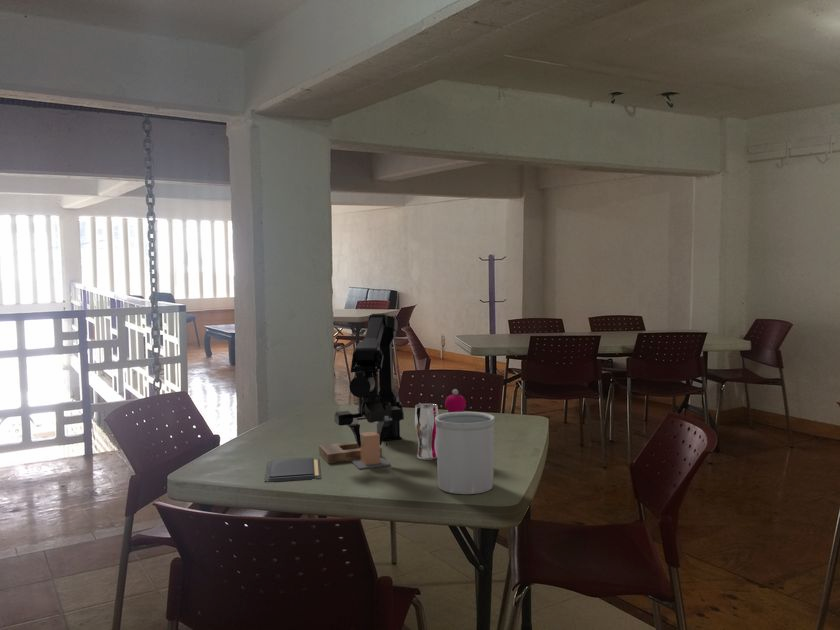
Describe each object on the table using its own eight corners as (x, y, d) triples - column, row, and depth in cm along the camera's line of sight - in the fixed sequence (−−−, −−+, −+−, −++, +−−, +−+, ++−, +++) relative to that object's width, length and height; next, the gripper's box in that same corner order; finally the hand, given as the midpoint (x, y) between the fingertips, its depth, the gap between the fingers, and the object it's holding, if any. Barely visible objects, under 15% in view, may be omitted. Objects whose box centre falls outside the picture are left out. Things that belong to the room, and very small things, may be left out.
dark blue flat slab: (268, 457, 199) (321, 454, 201) (268, 464, 199) (321, 461, 201) (261, 478, 180) (321, 474, 182) (262, 485, 180) (321, 482, 182)
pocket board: (371, 448, 212) (370, 439, 212) (381, 457, 202) (381, 448, 202) (319, 454, 207) (319, 445, 207) (327, 463, 196) (327, 454, 196)
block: (375, 459, 198) (374, 431, 198) (380, 463, 194) (379, 434, 194) (360, 460, 197) (359, 433, 196) (365, 464, 193) (364, 436, 192)
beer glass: (442, 454, 203) (441, 403, 202) (435, 461, 197) (434, 408, 196) (419, 453, 206) (418, 402, 205) (411, 459, 199) (410, 407, 198)
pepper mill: (451, 463, 194) (450, 392, 193) (439, 457, 201) (437, 388, 199) (473, 459, 197) (472, 389, 196) (460, 453, 204) (459, 386, 202)
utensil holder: (444, 475, 183) (443, 409, 182) (500, 479, 179) (499, 411, 177) (428, 493, 169) (427, 421, 168) (489, 497, 165) (488, 424, 163)
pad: (380, 457, 201) (380, 456, 201) (390, 465, 193) (390, 464, 193) (350, 461, 198) (350, 459, 198) (359, 469, 190) (359, 468, 190)
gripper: (343, 398, 183) (344, 456, 185) (409, 392, 190) (410, 449, 191) (333, 391, 194) (334, 447, 195) (396, 386, 200) (397, 439, 202)
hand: (369, 445), depth 195 cm, fingers open, 6 cm apart
